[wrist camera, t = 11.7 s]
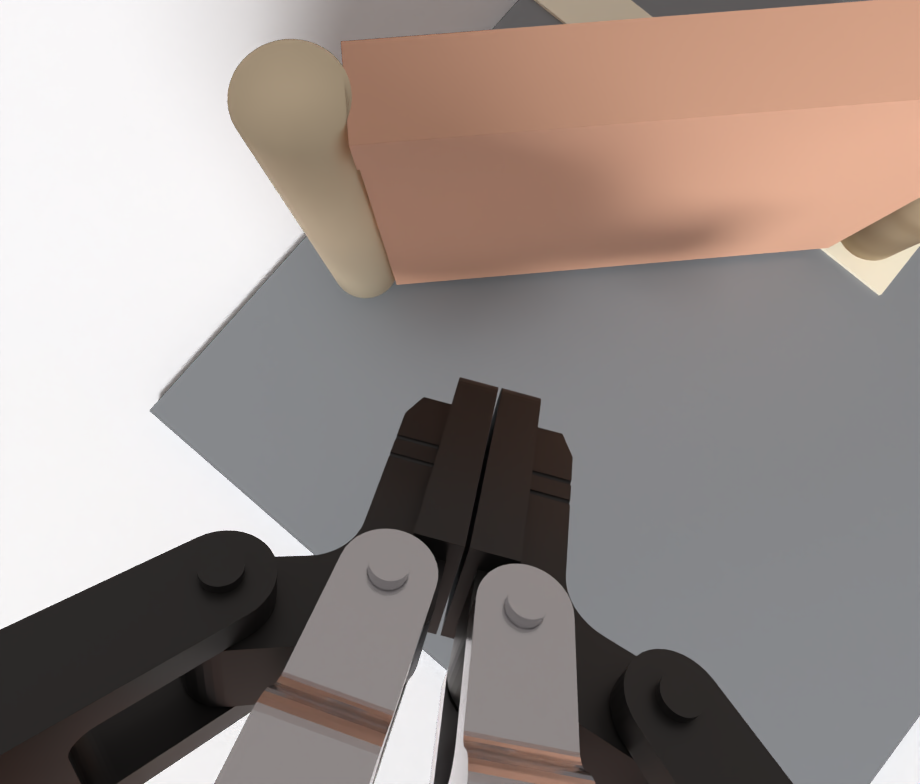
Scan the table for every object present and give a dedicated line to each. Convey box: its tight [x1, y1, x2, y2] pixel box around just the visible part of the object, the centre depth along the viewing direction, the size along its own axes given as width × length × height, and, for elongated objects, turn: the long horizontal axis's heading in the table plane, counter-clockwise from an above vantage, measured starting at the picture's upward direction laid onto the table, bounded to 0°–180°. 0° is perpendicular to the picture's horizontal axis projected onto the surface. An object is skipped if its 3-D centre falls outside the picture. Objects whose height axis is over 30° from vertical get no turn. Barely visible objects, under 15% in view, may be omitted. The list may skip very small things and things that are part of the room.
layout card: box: [150, 0, 920, 784], centre depth 18 cm, size 21×28×1 cm
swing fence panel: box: [228, 0, 920, 298], centre depth 14 cm, size 2×14×8 cm, turn 95°
